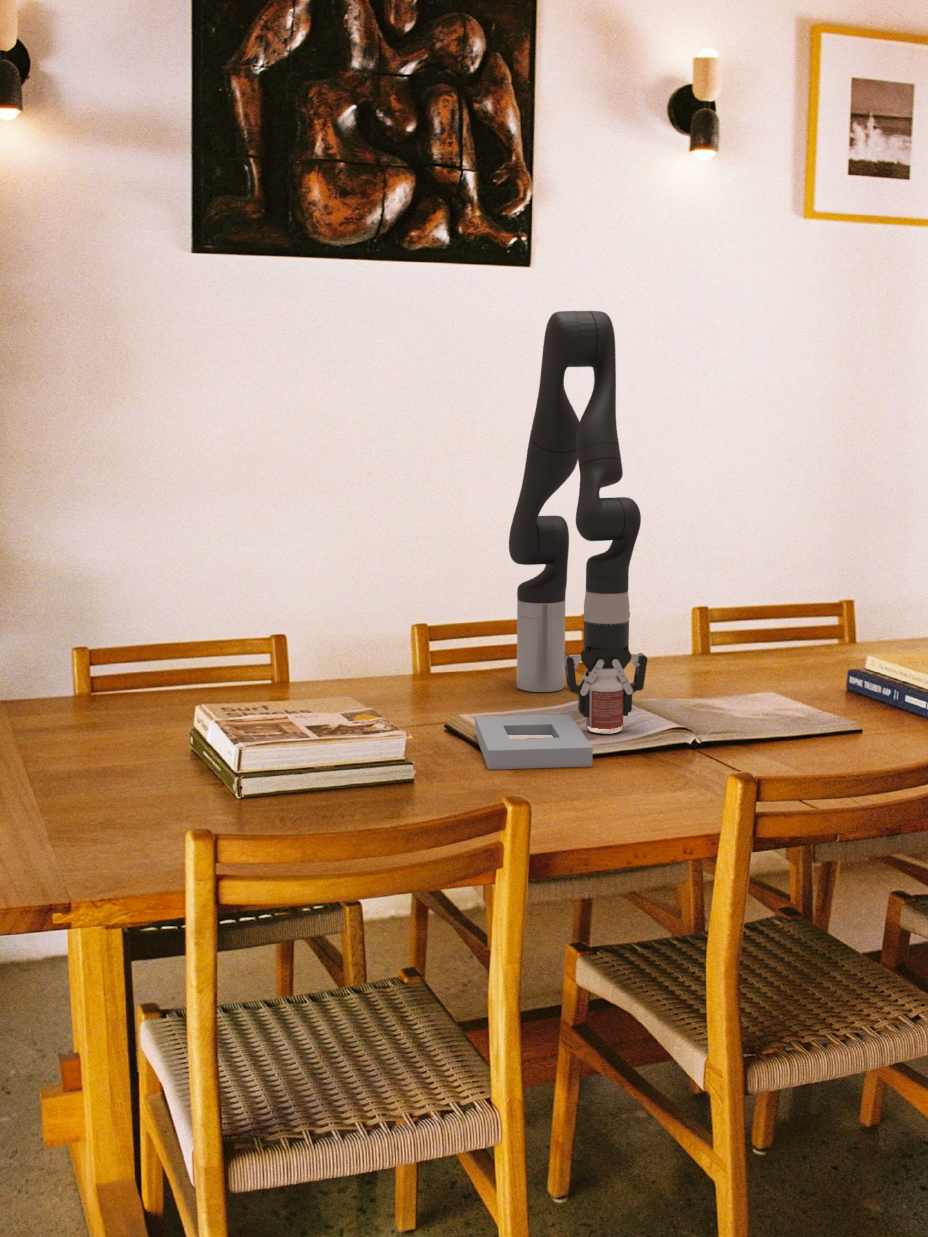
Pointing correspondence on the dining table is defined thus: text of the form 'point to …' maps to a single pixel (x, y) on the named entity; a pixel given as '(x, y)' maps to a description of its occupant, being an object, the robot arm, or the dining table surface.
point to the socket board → (532, 742)
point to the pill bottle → (605, 701)
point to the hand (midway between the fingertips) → (604, 715)
